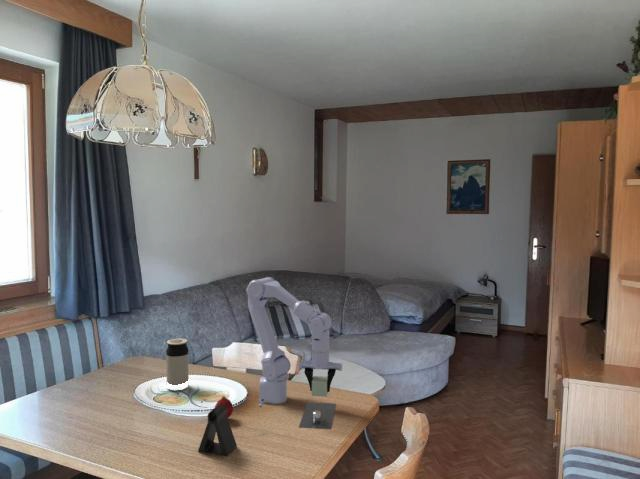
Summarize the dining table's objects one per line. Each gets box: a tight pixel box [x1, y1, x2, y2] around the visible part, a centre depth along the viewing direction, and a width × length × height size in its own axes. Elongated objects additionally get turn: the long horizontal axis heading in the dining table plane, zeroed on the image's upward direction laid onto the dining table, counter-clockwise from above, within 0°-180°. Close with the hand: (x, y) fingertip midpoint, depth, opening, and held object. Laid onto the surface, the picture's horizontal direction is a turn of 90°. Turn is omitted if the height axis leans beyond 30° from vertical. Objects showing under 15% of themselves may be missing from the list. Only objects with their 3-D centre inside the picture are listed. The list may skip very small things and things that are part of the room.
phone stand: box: [197, 404, 237, 457], centre depth 139 cm, size 9×6×12 cm, turn 75°
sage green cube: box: [311, 375, 329, 398], centre depth 165 cm, size 5×5×5 cm
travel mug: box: [165, 338, 189, 385], centre depth 187 cm, size 8×8×18 cm
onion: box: [214, 395, 234, 418], centre depth 158 cm, size 6×6×8 cm
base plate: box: [298, 401, 337, 430], centre depth 160 cm, size 10×20×4 cm, turn 174°
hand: (320, 390), depth 165 cm, fingers closed on sage green cube, 5 cm apart
